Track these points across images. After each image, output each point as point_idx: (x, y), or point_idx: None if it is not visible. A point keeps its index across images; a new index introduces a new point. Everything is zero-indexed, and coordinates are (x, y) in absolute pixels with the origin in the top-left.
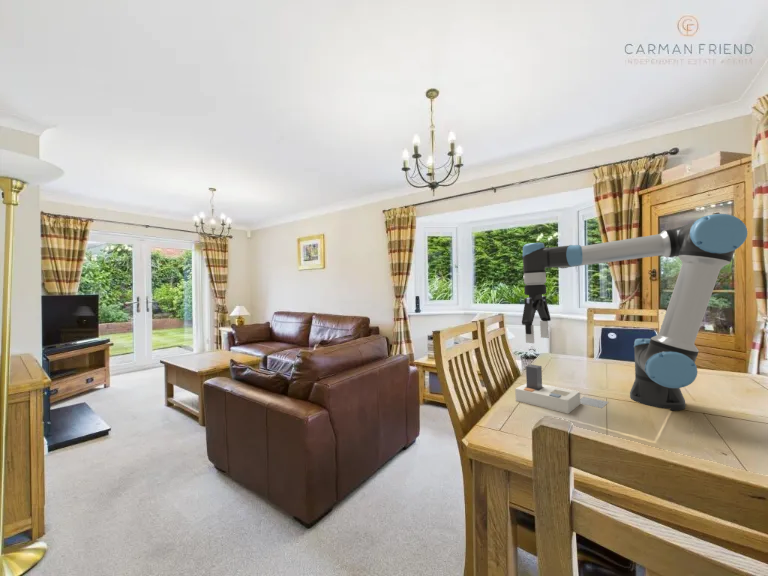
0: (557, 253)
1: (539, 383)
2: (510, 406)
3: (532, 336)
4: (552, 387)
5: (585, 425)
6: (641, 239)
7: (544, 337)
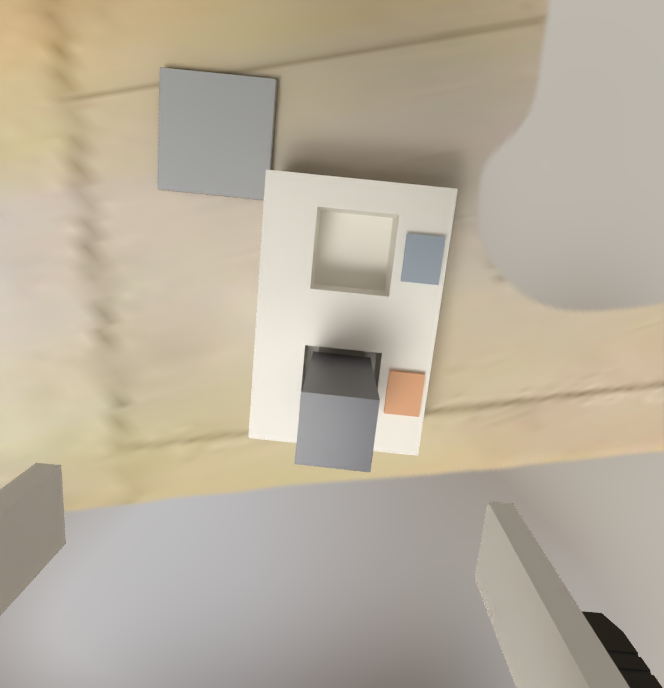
0: None
1: (344, 365)
2: (469, 428)
3: (546, 566)
4: (284, 309)
5: (509, 111)
6: None
7: (61, 506)
